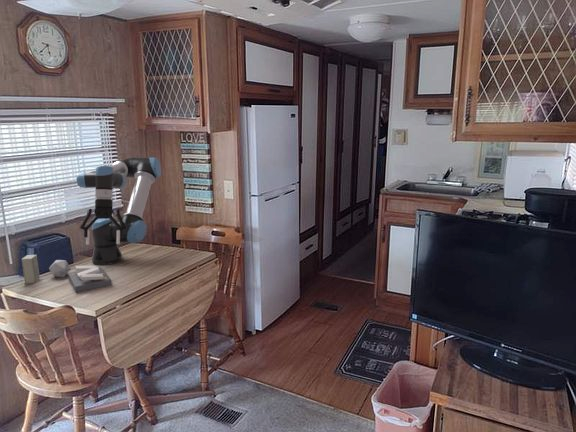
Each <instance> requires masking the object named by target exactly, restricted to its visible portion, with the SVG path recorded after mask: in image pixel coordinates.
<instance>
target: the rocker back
mask: <svg viewBox="0 0 576 432" xmlns="http://www.w3.org/2000/svg"><path fill="white" fill-rule="evenodd" d="M94 267H97V264H93V265H75V267H74V269H75V272H77V271H85V270H88V269H91V268H94Z"/></svg>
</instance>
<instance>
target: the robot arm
mask: <svg viewBox="0 0 576 432" xmlns="http://www.w3.org/2000/svg"><path fill="white" fill-rule="evenodd" d="M161 176H162V165H161V163H160V160H159V159H158V158H157V157H139V156H138V157H134V156H133V157H128V158H127V157H126V158H124V159H120V160H117V161H115V162H113V163H112V165H97V166H96V167H95V170H92V171H90V172H89V171H88V172H86V171H84V172H79V173H78V174H77V176H76V184H77V186H78V187H79V188H81V189H82V188H84V189H92V188H93V189H94V188H95V190H94V191H95V192H94V193H95V196H94V197H95V200H94V209H93V208H88V209H87V212H86V214H85V216H84V218H83V220H82V221H81V224H80V225H79V229H81V230H83V237H84V238H85V245H87V246H89V245H90V234H91V233H90V230H89V229H90V228H91V232H92V239H93V247H94V248H93V253H92V255H91V263H92V264H93V265H96V266H97V265H98V266H99V265H102V266H103V265H111V264H116V263H119V262H121V261H122V260H123V253H122V252H121V249H120V247H119V245H121V243H129V244H133V243H140V242H141V241H143V239H144V238H145V236H146V233H147V224H146V222H145V221H144V220H145V219H144V218H143V215H144V211H145V208H146V204H147V201H148V197H149V193H150V189H151V187H152V184H154V183H155V181H156V179H159V178H160V177H161ZM127 178H134V179H135V181H134V185H133V189H132V191H131V195H130V198H129V200H128V205H127V207H126V211H125V213H123V214H122V215H121V213H120V209H113V205H114V203H113V195H114V192H113V189H118V190H119V189H122V188H124V187H125V186H126V184H127ZM93 213H94V214H95V216H93V218H92V219H91V220H90V221H89V219H90V218H91V215H92V214H93ZM113 214H114V215H115V216H116V217H115V216H113ZM116 218H117V219H116ZM88 221H89V223H88Z"/></svg>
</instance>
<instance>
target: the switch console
mask: <svg viewBox="0 0 576 432" xmlns="http://www.w3.org/2000/svg"><path fill="white" fill-rule="evenodd" d="M98 268H99V271H100V272H98V273H95V274H102V275H103V276H104V279H99V280H81V279H79V277H78V275H77V273H79V272H82V271H73V272H68V273H67V276H68V280H69V282H70V284H71V286H72V288H73V291H74V293H75V294H79V293H83V292H89V291H93V290H99V289H103V288H109V287H112V286H113V282H112V278H110V276H109V275H108V274H107V271H105V270H104V268H103V267H98Z"/></svg>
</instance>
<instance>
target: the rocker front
mask: <svg viewBox="0 0 576 432" xmlns="http://www.w3.org/2000/svg"><path fill="white" fill-rule="evenodd" d="M80 278H81V280H99V279H104V276H103V275H102V274H80Z"/></svg>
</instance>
